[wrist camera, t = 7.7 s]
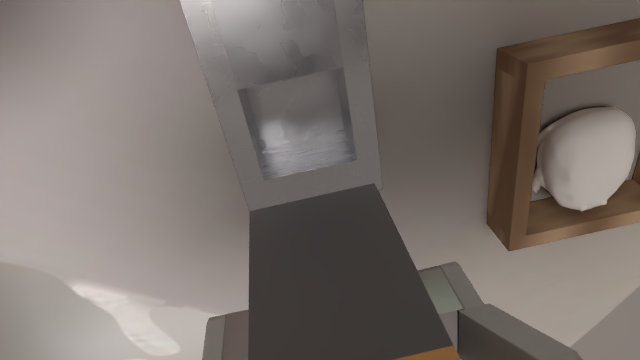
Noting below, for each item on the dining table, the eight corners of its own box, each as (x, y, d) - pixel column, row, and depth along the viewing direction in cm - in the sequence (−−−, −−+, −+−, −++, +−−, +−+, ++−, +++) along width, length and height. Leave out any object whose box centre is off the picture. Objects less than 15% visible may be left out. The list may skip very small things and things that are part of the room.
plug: (374, 182, 13) (478, 395, 7) (385, 273, 15) (472, 495, 9) (249, 211, 13) (246, 451, 7) (278, 298, 15) (295, 540, 9)
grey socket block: (313, -244, 18) (330, -297, 14) (364, 150, 29) (382, 188, 25) (134, -209, 18) (96, -251, 14) (252, 174, 29) (251, 217, 24)
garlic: (606, 181, 34) (642, 207, 30) (525, 203, 34) (554, 232, 30) (620, 90, 29) (665, 110, 26) (528, 116, 29) (561, 139, 26)
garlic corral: (698, 5, 26) (754, 15, 24) (642, 188, 34) (679, 213, 31) (497, 48, 26) (528, 63, 23) (486, 223, 34) (508, 251, 31)
